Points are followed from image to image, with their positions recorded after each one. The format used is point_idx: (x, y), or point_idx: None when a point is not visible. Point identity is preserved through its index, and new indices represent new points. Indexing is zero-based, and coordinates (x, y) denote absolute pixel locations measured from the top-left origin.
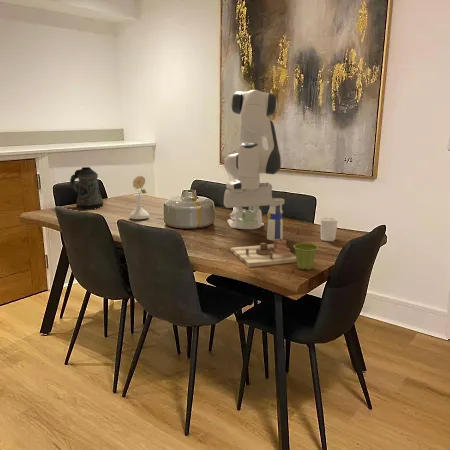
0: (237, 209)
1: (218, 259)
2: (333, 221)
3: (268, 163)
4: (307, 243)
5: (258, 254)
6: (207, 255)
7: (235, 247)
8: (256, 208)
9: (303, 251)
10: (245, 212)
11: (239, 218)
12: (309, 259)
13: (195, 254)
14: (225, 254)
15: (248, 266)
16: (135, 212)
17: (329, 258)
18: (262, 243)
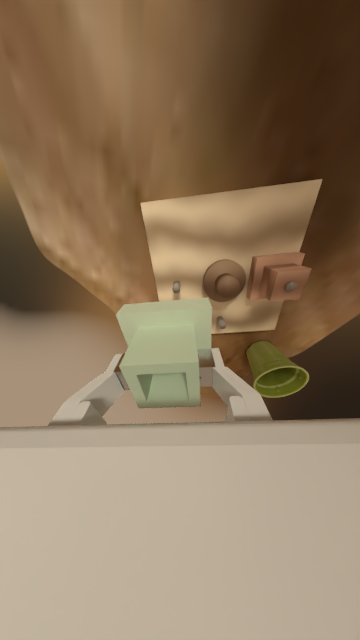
0: (73, 401)
1: (108, 278)
2: None
3: None
4: (302, 370)
5: (203, 290)
6: (74, 238)
7: (157, 202)
8: (226, 420)
9: (259, 390)
10: (140, 404)
11: (124, 317)
12: (264, 376)
13: (35, 219)
14: (125, 239)
15: None
16: None
17: (344, 320)
18: (226, 284)
